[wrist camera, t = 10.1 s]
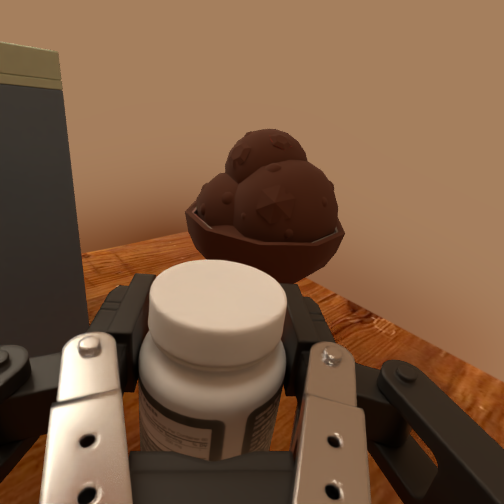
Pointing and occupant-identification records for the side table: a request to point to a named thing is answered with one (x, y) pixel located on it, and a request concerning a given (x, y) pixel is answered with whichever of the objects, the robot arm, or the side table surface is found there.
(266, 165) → the ice cream bowl
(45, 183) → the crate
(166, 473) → the robot arm
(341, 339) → the side table surface
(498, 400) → the side table surface
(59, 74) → the tray
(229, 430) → the pill bottle
